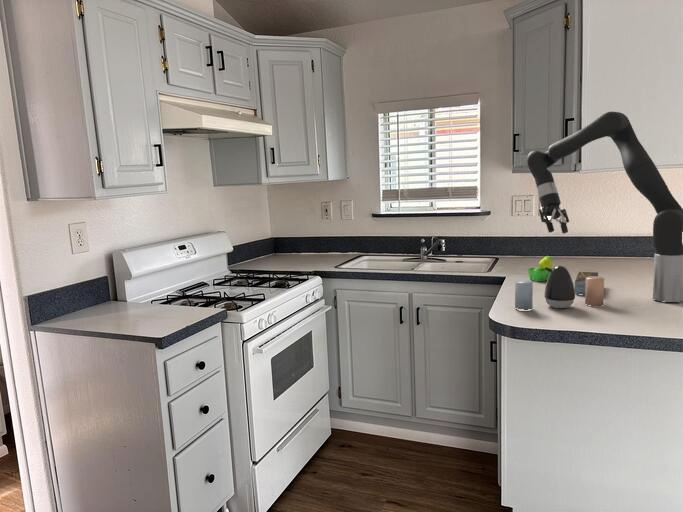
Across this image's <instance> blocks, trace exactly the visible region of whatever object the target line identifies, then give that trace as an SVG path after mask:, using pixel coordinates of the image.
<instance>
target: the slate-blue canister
mask: <svg viewBox="0 0 683 512" xmlns="http://www.w3.org/2000/svg"><path fill="white" fill-rule="evenodd" d="M533 286H534V281H533V280H523V279H521V280H515V281H514V309H515V308H518V309H524V310H528V309H532V308H533V307H534V306H533V303H534V300H533V298H534V297H533V295H534V294H533V293H534V292H533V289H534V287H533Z"/></svg>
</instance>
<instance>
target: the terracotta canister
mask: <svg viewBox="0 0 683 512" xmlns="http://www.w3.org/2000/svg"><path fill="white" fill-rule="evenodd" d="M584 299H585V300H584V305H585V304H587V305H591V306H602V305H603V306H604V303H605V277H604V276H603V277H602V276H598V277H597V276H589V277H586V289H585V295H584ZM603 306H602V307H603Z"/></svg>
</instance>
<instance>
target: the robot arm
mask: <svg viewBox="0 0 683 512" xmlns="http://www.w3.org/2000/svg"><path fill="white" fill-rule="evenodd" d="M606 137H608V138H610V139H611V140H612V141H613V143H614V144H615V146H616V147H617V149H618V150H619V153H620V156H621V160H622V165H623V168H624V170H625V173H626V175H627V177H628V178H629V180H630V182H631V184H632V185H633V186H634V187H635V189H636V190H637V191H638V192H639V193H640V194H641V195H642V196H643V197H644V198H646V200H648V202H649V203H650V204H651V205H652V207H653V208H654V211H655V212H656V216H654V219H653V224H652V245H653V249H654V254H653V255H654V258H653V282H652V283H653V285H652V300H653V299H655V300H658V301H665V302H681V301H682V302H683V207H682V206H681V205H680V204H679V202H678V201H677V199H676V198H675V197H674V195H673V194H672V193H671V190H670V188H669V187H668V185H667V183H666V181H665V179H664V178H663V176H662V174H661V173H660V171H659V170H658V167H657V166H656V165H655V163H654V161H653V160H652V158H651V156H650V155H649V153H648V152H647V150H646V148H644V146H643V144H642V143H641V142H640V140H639V139H638V137H637V134H636V132H635V130H634V128H633V125H632V124H631V121H630V119H629V117H628V116H627V115H626V114H625V113H623V112H619V111H607V112H605V113H603V114H601V115H600V116H599V117H597V118H596V119H594V120H593V121H592V122H590V123H589V124H587V125H586V126H584V127H583V128H581V129H579V130H578V131H576V132H574V133H572V134H570V135H568V136H566V137H564V138H561V139H560V140H558V141H556V142H554V143H552V144H550V146H549V147H548V149H547V150H546V151H545V152H542V151H539V150H532V151H530V152H529V153H528V155H527V156H526V157H527V158H526V163H527V166H528V169H529V171H530V174H531V175H532V177H533V178H534V181H535V185H536V189H537V194H538V195H537V196H538V199H539V203H540V206H541V207H540V208H539V209H538V212H539V216H540V220H541V223H544V224H545V226H546V227H547V228H546V229H547V231H548V233H553V232H554V231H555V229H554V223H553V222H552V221H553V220H555V222H558V223H559V225H560V230H561V233H562V234H564V235H565V234H567V233H569V229H568V226H567V225H568V224H569V222H570V219H569V216H568V213H567V210H566V208H563V209H561V208H560V205H561V203H562V202H561V199H560V195H559V192H558V188H557V186H556V183H555V179H554V176H553V173H552V172H551V171H550V170H549V169H548V168H551V167H552V166H553V165H554V164H556V162H558V161H559V160H561V159H564V158H566V157H568V156H570V155H572V154H574V153H575V152H577V151H579V150H580V149H582V148H583V147H585V146H586V145H587V144H590V143H592V142H594V141H597V140H600V139H603V138H606ZM655 300H654V301H655ZM658 301H657V302H658ZM665 302H664V303H665ZM682 302H681V303H682Z"/></svg>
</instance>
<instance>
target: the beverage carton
mask: <svg viewBox="0 0 683 512" xmlns="http://www.w3.org/2000/svg"><path fill="white" fill-rule="evenodd" d="M589 276H597V277H599V272H598V271H596V272H595V271H593V272H592V271H578V273H577V276H576V278H575V280H574V290H575V294H583V295H582V296H585V289H586V277H589Z"/></svg>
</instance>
